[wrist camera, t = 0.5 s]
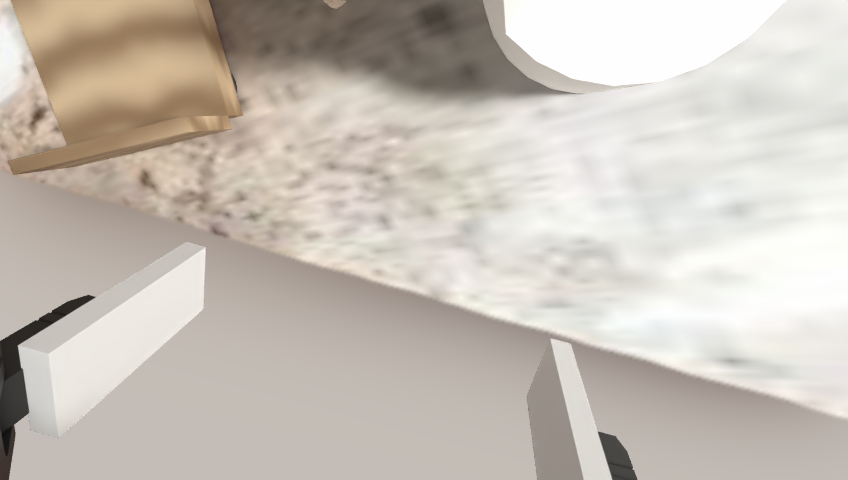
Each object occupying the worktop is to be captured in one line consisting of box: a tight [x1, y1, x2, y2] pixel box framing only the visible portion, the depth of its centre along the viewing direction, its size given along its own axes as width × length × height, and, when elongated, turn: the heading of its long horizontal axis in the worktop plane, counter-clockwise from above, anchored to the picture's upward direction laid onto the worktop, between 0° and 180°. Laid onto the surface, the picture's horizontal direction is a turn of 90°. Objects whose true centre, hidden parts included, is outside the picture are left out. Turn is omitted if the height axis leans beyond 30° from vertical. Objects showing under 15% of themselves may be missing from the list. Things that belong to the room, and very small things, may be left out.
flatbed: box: [8, 0, 243, 175], centre depth 40 cm, size 17×18×9 cm
